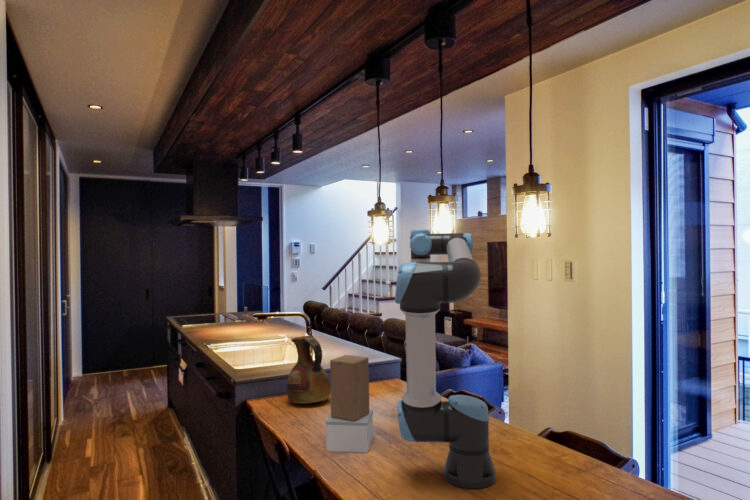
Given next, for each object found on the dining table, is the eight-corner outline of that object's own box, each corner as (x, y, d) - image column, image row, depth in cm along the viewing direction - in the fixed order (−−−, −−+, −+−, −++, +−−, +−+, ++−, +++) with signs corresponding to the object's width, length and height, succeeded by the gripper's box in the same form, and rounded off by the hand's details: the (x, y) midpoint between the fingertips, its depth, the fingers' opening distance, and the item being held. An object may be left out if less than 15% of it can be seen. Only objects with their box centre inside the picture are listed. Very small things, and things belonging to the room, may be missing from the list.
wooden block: (354, 422, 170) (353, 362, 170) (330, 417, 175) (329, 359, 175) (369, 413, 179) (369, 357, 179) (346, 409, 184) (345, 354, 184)
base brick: (367, 452, 169) (366, 422, 169) (326, 451, 171) (326, 421, 171) (373, 437, 183) (372, 409, 183) (335, 436, 185) (335, 408, 185)
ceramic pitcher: (307, 393, 241) (306, 330, 241) (340, 400, 230) (339, 334, 230) (277, 404, 225) (276, 336, 226) (310, 411, 214) (309, 341, 214)
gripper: (430, 271, 179) (431, 331, 179) (431, 268, 203) (432, 321, 203) (408, 271, 180) (409, 331, 180) (412, 269, 204) (413, 321, 204)
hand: (421, 326), depth 191 cm, fingers open, 13 cm apart
